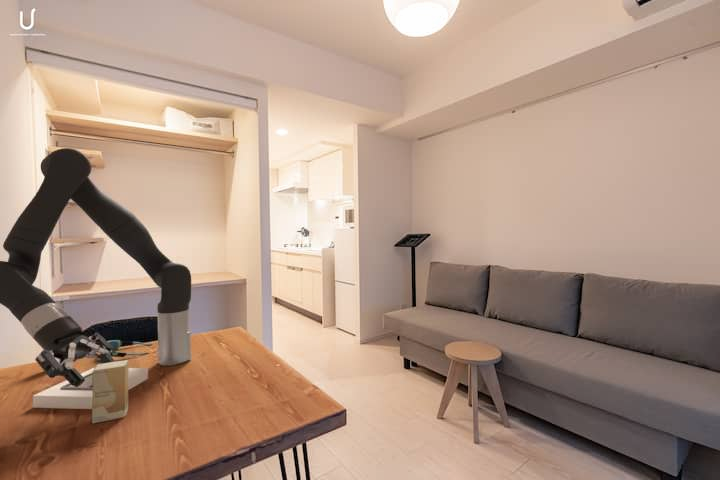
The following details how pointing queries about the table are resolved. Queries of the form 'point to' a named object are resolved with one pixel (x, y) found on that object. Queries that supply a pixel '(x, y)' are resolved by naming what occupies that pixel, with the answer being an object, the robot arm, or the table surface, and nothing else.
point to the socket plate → (80, 391)
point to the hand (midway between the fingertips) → (98, 375)
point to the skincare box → (110, 391)
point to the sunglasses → (116, 345)
